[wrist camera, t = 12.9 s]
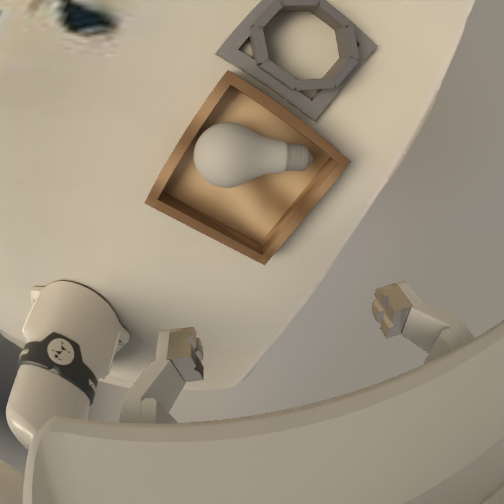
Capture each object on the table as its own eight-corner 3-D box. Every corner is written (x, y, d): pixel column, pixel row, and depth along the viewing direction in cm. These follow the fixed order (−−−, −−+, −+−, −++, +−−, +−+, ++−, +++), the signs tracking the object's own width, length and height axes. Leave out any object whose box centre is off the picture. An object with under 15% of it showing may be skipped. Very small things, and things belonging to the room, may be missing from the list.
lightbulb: (315, 202, 24) (191, 200, 23) (300, 174, 29) (197, 172, 28) (327, 138, 20) (189, 131, 19) (307, 121, 25) (196, 116, 24)
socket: (312, 120, 26) (320, 123, 24) (215, 54, 21) (215, 51, 19) (373, 46, 21) (385, 44, 19) (286, -23, 16) (292, -31, 14)
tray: (260, 250, 34) (264, 265, 32) (150, 192, 28) (144, 203, 26) (339, 154, 28) (351, 161, 26) (226, 72, 22) (227, 70, 20)
